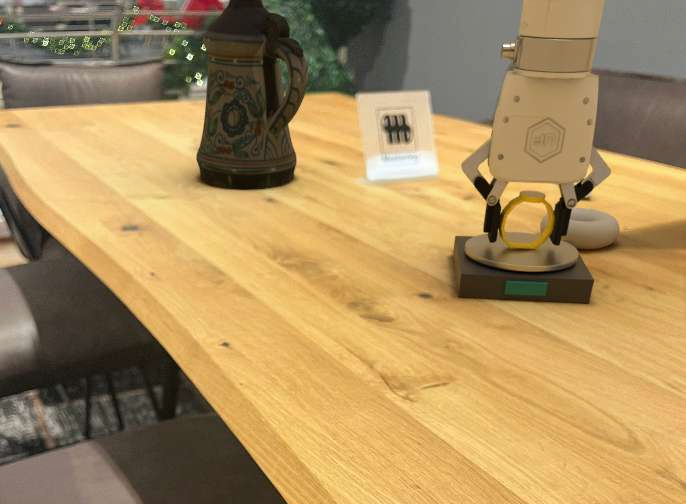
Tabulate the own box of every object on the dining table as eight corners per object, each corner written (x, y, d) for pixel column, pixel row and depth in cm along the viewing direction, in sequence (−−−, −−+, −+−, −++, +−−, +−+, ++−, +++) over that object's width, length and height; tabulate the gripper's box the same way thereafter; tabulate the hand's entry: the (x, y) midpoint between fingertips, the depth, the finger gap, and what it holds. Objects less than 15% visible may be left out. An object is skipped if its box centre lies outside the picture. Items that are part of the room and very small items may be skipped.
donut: (533, 248, 98) (615, 256, 95) (537, 221, 96) (621, 228, 93) (542, 227, 106) (618, 234, 103) (546, 202, 104) (623, 207, 101)
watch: (499, 252, 85) (507, 196, 82) (492, 244, 87) (500, 190, 84) (551, 251, 86) (562, 196, 82) (543, 244, 88) (553, 189, 84)
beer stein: (215, 164, 135) (205, -4, 121) (322, 170, 132) (325, -2, 118) (183, 186, 122) (168, 0, 108) (302, 194, 119) (302, 3, 105)
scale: (567, 261, 94) (572, 237, 92) (589, 304, 82) (595, 278, 80) (452, 256, 95) (455, 232, 93) (458, 298, 83) (461, 272, 81)
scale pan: (567, 239, 91) (568, 234, 91) (587, 274, 81) (588, 269, 81) (461, 234, 92) (462, 229, 92) (467, 269, 82) (468, 263, 82)
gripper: (468, 59, 73) (446, 247, 84) (653, 64, 72) (608, 254, 82) (463, 52, 79) (444, 228, 90) (634, 56, 78) (594, 234, 88)
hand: (523, 239), depth 86 cm, fingers open, 6 cm apart
